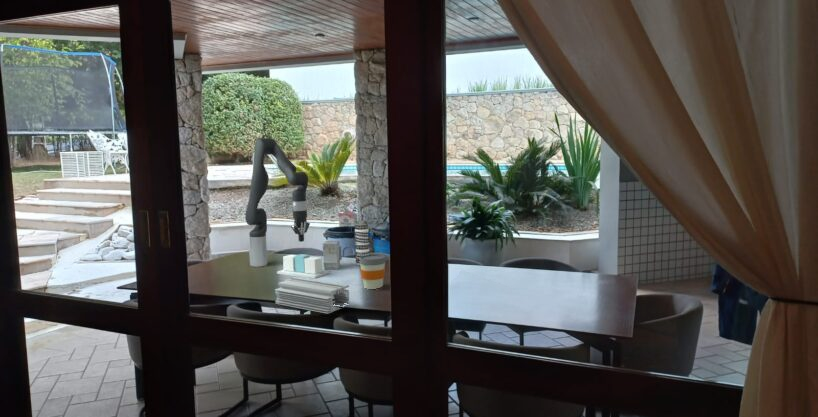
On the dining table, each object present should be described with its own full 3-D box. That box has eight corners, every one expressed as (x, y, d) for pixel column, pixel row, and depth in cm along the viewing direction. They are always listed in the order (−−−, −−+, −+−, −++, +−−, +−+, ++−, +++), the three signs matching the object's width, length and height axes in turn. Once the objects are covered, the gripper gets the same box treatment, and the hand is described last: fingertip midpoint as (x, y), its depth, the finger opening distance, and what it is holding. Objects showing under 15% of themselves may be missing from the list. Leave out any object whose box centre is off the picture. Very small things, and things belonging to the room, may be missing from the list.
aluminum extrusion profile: (327, 314, 232) (326, 290, 231) (275, 304, 249) (274, 282, 248) (349, 305, 244) (348, 283, 243) (298, 296, 261) (297, 275, 260)
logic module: (295, 271, 304) (294, 255, 303) (301, 269, 308) (300, 254, 307) (304, 272, 301) (303, 256, 300) (310, 270, 305) (309, 254, 304)
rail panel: (277, 273, 306) (276, 257, 305) (292, 269, 316) (291, 253, 315) (314, 278, 293) (313, 261, 292) (328, 273, 303) (328, 256, 302)
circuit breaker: (342, 264, 325) (341, 239, 323) (337, 270, 310) (335, 243, 309) (329, 264, 325) (328, 239, 323) (323, 270, 311) (322, 243, 309)
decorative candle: (351, 264, 324) (350, 221, 321) (361, 261, 332) (359, 219, 329) (364, 266, 319) (363, 222, 316) (374, 262, 327) (372, 220, 324)
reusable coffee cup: (366, 292, 264) (365, 260, 262) (356, 286, 275) (355, 256, 273) (390, 288, 270) (389, 257, 268) (379, 282, 281) (378, 253, 279)
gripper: (302, 207, 308) (304, 239, 310) (286, 210, 297) (287, 243, 299) (313, 208, 304) (314, 239, 306) (296, 211, 293) (298, 244, 295)
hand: (301, 241), depth 302 cm, fingers closed
